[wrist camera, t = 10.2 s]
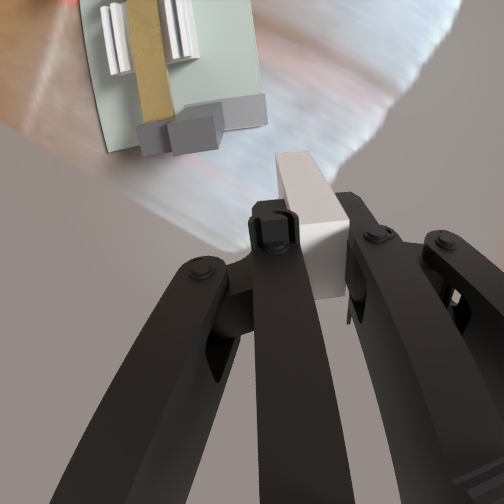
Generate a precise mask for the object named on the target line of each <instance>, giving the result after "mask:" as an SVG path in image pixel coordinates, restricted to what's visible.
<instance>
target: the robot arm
mask: <svg viewBox="0 0 504 504" xmlns="http://www.w3.org/2000/svg"><path fill="white" fill-rule="evenodd" d="M275 159H276V169H277V180H278V191H279V199H276V200H267V201H257V203H256V204H255V205H254V206H253V208H252V216H251V217H250V218H249V221H248V228H249V235H250V242H251V249H252V251H251V253H250V254H249V255H247V256H246V257H245V258H243V259H242V260H240V261H237V262H235V263H232V264H229V265H226V264H225V262H224V261H223V260H221V259H220V258H218V257H214V256H203V257H202V256H201V257H197V258H194V259H191V260H189V261H188V262H186V263H184V264H183V265H182V266H181V267H180V268H179V269H178V271H177V273H176V274H175V276H174V277H173V279H172V281H171V282H170V284H169V285H168V287H167V289H166V290H165V292H164V293H163V295H162V297H161V298H160V300H159V302H158V304H157V305H156V307H155V308H154V310H153V312H152V313H151V315H150V317H149V318H148V320H147V322H146V323H145V325H144V327H143V328H142V330H141V332H140V333H139V336H138V337H137V339H136V340H135V342H134V344H133V345H132V347H131V349H130V351H129V352H128V354H127V356H126V358H125V359H124V361H123V363H122V365H121V366H120V368H119V370H118V372H117V373H116V375H115V377H114V379H113V381H112V382H111V384H110V386H109V388H108V390H107V391H106V393H105V395H104V397H103V399H102V401H101V402H100V404H99V406H98V408H97V410H96V412H95V413H94V415H93V417H92V419H91V421H90V423H89V425H88V427H87V428H86V431H85V432H84V434H83V436H82V438H81V440H80V442H79V444H78V446H77V448H76V450H75V452H74V454H73V456H72V458H71V460H70V462H69V464H68V466H67V468H66V470H65V472H64V474H63V476H62V478H61V480H60V482H59V484H58V486H57V488H56V490H55V493H54V495H53V497H52V499H51V501H50V503H49V504H185V503H186V500H187V497H188V495H189V492H190V489H191V486H192V483H193V480H194V477H195V474H196V472H197V469H198V466H199V463H200V460H201V457H202V454H203V451H204V448H205V445H206V442H207V439H208V436H209V434H210V431H211V427H212V425H213V421H214V418H215V416H216V413H217V410H218V407H219V404H220V401H221V398H222V395H223V392H224V388H225V386H226V383H227V379H228V377H229V374H230V370H231V367H232V364H233V361H234V358H235V355H236V352H237V349H238V346H239V343H240V337H241V335H243V334H246V333H249V332H252V331H254V338H255V339H254V340H255V370H256V400H257V401H256V403H257V430H258V431H257V432H258V462H259V463H258V464H259V493H260V494H259V495H260V504H355V500H354V493H353V488H352V481H351V476H350V470H349V463H348V458H347V452H346V447H345V441H344V436H343V430H342V425H341V420H340V415H339V410H338V405H337V400H336V395H335V390H334V385H333V381H332V376H331V371H330V367H329V362H328V357H327V353H326V348H325V344H324V339H323V335H322V331H321V326H320V322H319V318H318V313H317V309H316V305H315V301H314V300H317V299H326V298H334V297H341V296H345V287H346V284H347V287H348V290H349V302H348V311H347V324H350V321H351V317H352V319H353V322H354V325H355V328H356V331H357V334H358V337H359V340H360V344H361V347H362V350H363V353H364V357H365V360H366V363H367V367H368V370H369V374H370V377H371V380H372V384H373V388H374V391H375V395H376V398H377V402H378V405H379V409H380V413H381V417H382V420H383V425H384V428H385V432H386V436H387V440H388V444H389V449H390V453H391V457H392V461H393V466H394V470H395V475H396V479H397V484H398V489H399V493H400V499H401V504H504V272H502V271H501V270H500V269H499V268H498V267H497V266H495V265H494V264H493V263H492V262H491V261H489V260H488V259H487V258H486V257H485V256H483V255H482V254H481V253H480V252H479V251H477V250H476V249H475V248H474V247H472V246H471V245H470V244H469V243H467V242H466V241H465V240H464V239H462V238H461V237H459V236H458V235H456V234H454V233H451V232H449V231H446V230H444V231H443V230H436V231H431V232H429V233H427V235H426V237H425V240H424V244H417V243H407V242H403V241H402V239H401V238H400V237H399V235H398V234H397V233H396V232H395V231H394V230H393V229H391V228H389V227H387V226H383V225H379V224H378V222H377V221H376V219H375V218H374V216H373V215H372V213H371V212H370V211H369V210H368V208H367V206H366V205H365V204H364V202H363V201H362V199H361V198H360V197H359V196H357V195H355V194H354V193H352V192H342V193H334V192H333V190H332V189H331V187H330V185H329V184H328V182H327V180H326V178H325V177H324V175H323V174H322V172H321V170H320V169H319V167H318V165H317V164H316V162H315V160H314V159H313V157H312V156H311V154H310V152H309V151H296V152H285V153H275ZM455 289H456V290H457V291H458V292H459V293H460V294H461V298H460V300H459V303H458V304H457V303H455V302H454V301H453V300H452V296H453V293H454V290H455Z"/></svg>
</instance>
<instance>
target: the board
mask: <svg viewBox="0 0 504 504" xmlns="http://www.w3.org/2000/svg"><path fill="white" fill-rule="evenodd" d="M80 8H81V17H82V24H83V31H84V38H85V45H86V51H87V57H88V62H89V68H90V73H91V79H92V84H93V89H94V94H95V98H96V103H97V108H98V112H99V116H100V121H101V125H102V129H103V133H104V137H105V141H106V145H107V149H108V153H109V152H113V151H117V150H121V149H126V148H130V147H135V146H139V145H140V144H139V140H138V136H137V131H136V127H137V126H139V125H142V124H145V123H144V118H143V112H142V107H141V101H140V96H139V90H138V84H137V78H136V71H135V65H134V58H133V51H132V44H131V37H130V29H129V21H128V13H127V4H126V0H80ZM159 9H160V17H161V24H162V32H163V39H164V46H165V53H166V60H167V67H168V73H169V80H170V86H171V92H172V98H173V105H174V110H175V116H177V115H178V114H179V113H180V112H182V111H183V110H184V109H185V108H187V107H193V106H199V105H205V104H211V103H218V102H222V109H223V116H224V123H225V129H224V131H225V130H233V129H240V128H249V127H258V126H266V124H268V119H267V110H266V101H265V94H262V87H261V79H260V71H259V63H258V55H257V47H256V39H255V32H254V24H253V17H252V10H251V2H250V0H159Z"/></svg>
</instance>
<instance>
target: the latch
mask: <svg viewBox="0 0 504 504" xmlns="http://www.w3.org/2000/svg"><path fill="white" fill-rule="evenodd" d="M224 129H225V123H224V116H223V109H222V102H218V103H211V104H205V105H199V106H193V107H187V108H185V109H184V110H183V111H182V112H180V113H179V114H178V115H177V116H176V117H174V118H170V119H165V120H160V121H155V122H151V123H146V124H142V125H139V126H137V127H136V131H137V136H138V140H139V144H140V149H141V153H142V157H146V156H151V155H156V154H161V153H167V152H173V156H178V155H184V154H190V153H196V152H203V151H209V150H216V149H219V145H220V142H221V139H222V136H223V132H224Z"/></svg>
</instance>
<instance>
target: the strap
mask: <svg viewBox="0 0 504 504" xmlns="http://www.w3.org/2000/svg"><path fill="white" fill-rule="evenodd" d="M126 4H127V13H128V21H129V29H130V37H131V44H132V51H133V58H134V65H135V71H136V78H137V84H138V90H139V96H140V101H141V107H142V112H143V118H144V123H145V124H146V123H151V122H155V121H160V120H165V119H170V118H174V117H176V116H175V110H174V105H173V98H172V92H171V86H170V80H169V73H168V67H167V60H166V53H165V46H164V39H163V32H162V24H161V17H160V9H159V0H126Z"/></svg>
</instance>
